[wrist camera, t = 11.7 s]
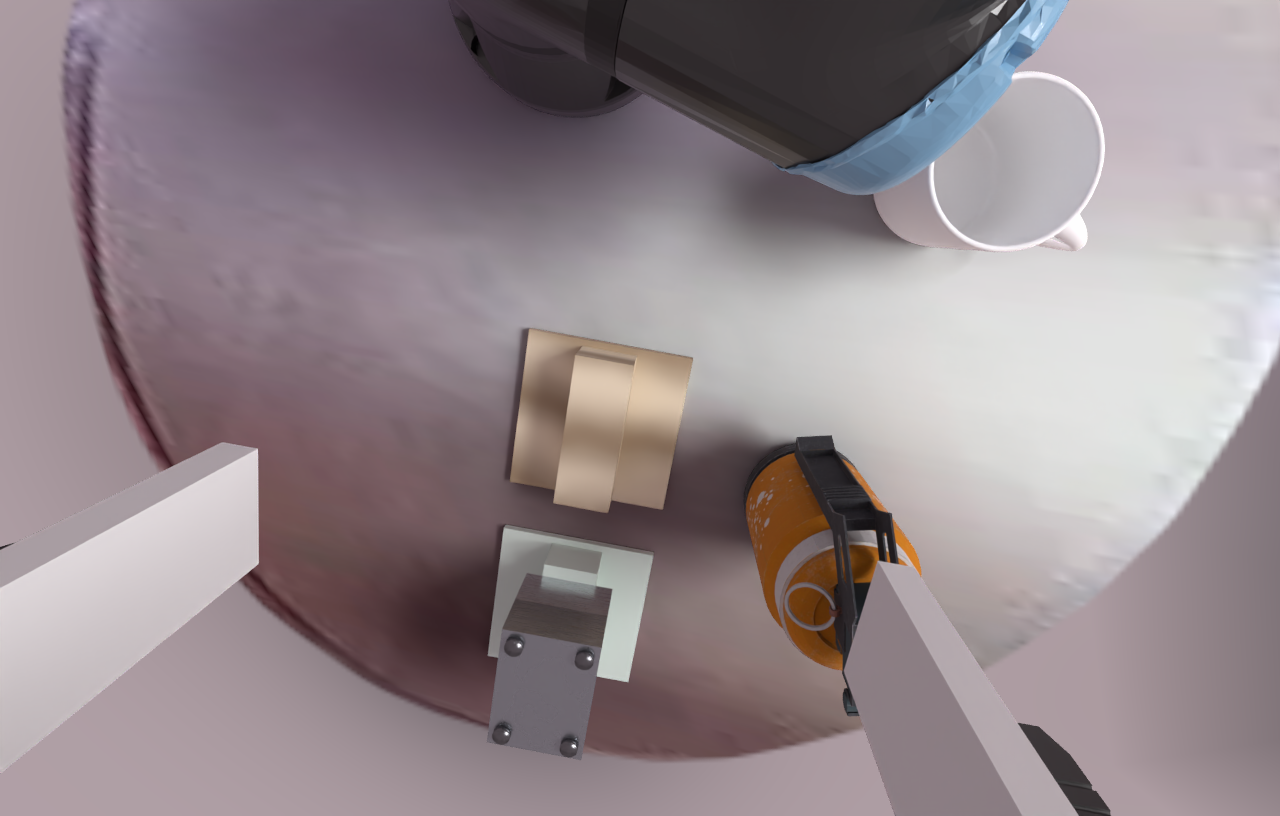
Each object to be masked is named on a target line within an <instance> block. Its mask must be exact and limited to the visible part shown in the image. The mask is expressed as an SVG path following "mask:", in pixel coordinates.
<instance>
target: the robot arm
mask: <svg viewBox="0 0 1280 816" xmlns="http://www.w3.org/2000/svg"><path fill="white" fill-rule="evenodd" d="M1068 1H1069V0H449V3H450V7H451V10H452V14H453V17H454V20H455V23H456V26H457V28H458V30H459V33H460V35H461V37H462V39H463V41H464V43H465V45H466V46H467V48H468V50H469V51H470V53H471V55H472V56H473V58H474V59H475V60H476V62H477V63H478V64H479V66H480V67H481V68H482V69H483V71H484V72H485V73H486V74H487V75H488V76H489V77H490V78H491V79H492V80H493V81H494V82H495V83H496V84H498V85H499V86H500V87H501V88H502V89H504V90H505V91H506V92H507V93H509V94H510V95H511V96H513V97H514V98H516V99H517V100H519V101H520V102H522V103H524V104H526V105H528V106H530V107H532V108H534V109H536V110H539V111H542V112H545V113H548V114H552V115H557V116H563V117H588V116H595V115H600V114H603V113H607V112H610V111H613V110H615V109H618V108H620V107H622V106H624V105H626V104H628V103H629V102H631V101H633V100H634V99H636V98H637V97H639V96H640V95H641V94H645V95H647V96H649V97H651V98H653V99H655V100H657V101H658V102H660V103H662V104H664V105H666V106H668V107H670V108H672V109H674V110H675V111H677V112H679V113H681V114H683V115H685V116H687V117H689V118H691V119H692V120H694V121H696V122H698V123H700V124H702V125H704V126H706V127H707V128H709V129H711V130H713V131H715V132H717V133H719V134H721V135H723V136H724V137H726V138H728V139H730V140H732V141H734V142H736V143H738V144H740V145H741V146H743V147H745V148H747V149H749V150H751V151H753V152H755V153H757V154H758V155H760V156H762V157H764V158H766V159H768V160H770V161H771V162H772V163H773V165H774V166H775V167H777V168H778V169H780V170H781V171H787V172H788V173H790V174H797V175H804V176H806V177H808V178H811V179H813V180H815V181H817V182H819V183H821V184H824V185H826V186H828V187H830V188H832V189H835V190H837V191H839V192H842V193H846V194H853V195H870V194H874V193H878V192H882V191H885V190H887V189H890V188H892V187H895V186H897V185H899V184H901V183H903V182H904V181H906V180H908V179H910V178H911V177H913V176H914V175H916V174H918V173H919V172H920V171H922V170H923V169H925V168H926V167H927V166H929V165H930V164H931V163H933V162H934V161H935V160H936V159H938V158H939V157H940V156H941V155H943V154H944V153H945V152H946V151H947V150H949V149H950V148H951V147H952V146H953V145H954V144H955V143H956V142H957V141H959V140H960V139H961V138H962V137H963V136H964V135H965V134H966V133H967V132H968V131H969V130H970V129H971V128H972V127H973V126H974V125H975V124H976V123H977V122H978V121H979V120H980V119H981V118H982V117H983V116H984V115H985V114H986V113H987V112H988V111H989V110H990V108H991V107H992V106H993V105H994V104H995V103H996V102H997V101H998V100H999V98H1000V97H1001V96H1002V95H1003V94H1004V93H1005V91H1006V90H1007V89H1008V87H1009V86H1010V85H1011V83H1012V75H1013V73H1014V71H1015V69H1016V68H1017V67H1018V66H1019V65H1020V64H1021V63H1022V62H1024V61H1025V60H1026V59H1027V58H1028V57H1030V56H1031V55H1032V54H1033V53H1035V52H1036V51H1037V50H1038V48H1039V47H1040V46H1041V44H1042V43H1043V41H1044V40H1045V38H1046V37H1047V35H1048V34H1049V32H1050V31H1051V29H1052V28H1053V27H1054V25H1055V24H1056V22H1057V21H1058V19H1059V17H1060V15H1061V14H1062V12H1063V10H1064V8H1065V7H1066V5H1067V3H1068ZM258 564H259V533H258V449H257V448H251V447H245V446H240V445H234V444H229V443H223V442H222V443H220V444H218V445H216V446H214V447H212V448H210V449H207V450H205V451H203V452H201V453H199V454H197V455H195V456H193V457H191V458H189V459H187V460H185V461H183V462H181V463H179V464H177V465H174V466H172V467H170V468H168V469H166V470H164V471H162V472H160V473H158V474H156V475H154V476H152V477H150V478H148V479H146V480H144V481H142V482H139V483H138V484H135V485H133V486H131V487H129V488H127V489H125V490H123V491H121V492H119V493H117V494H115V495H113V496H111V497H109V498H107V499H104V500H103V501H100V502H98V503H96V504H94V505H92V506H90V507H88V508H86V509H84V510H82V511H80V512H78V513H76V514H74V515H71V516H70V517H67V518H65V519H63V520H61V521H59V522H57V523H55V524H53V525H51V526H49V527H47V528H45V529H43V530H41V531H38V532H36V533H35V534H32V535H30V536H28V537H26V538H24V539H22V540H20V541H18V542H16V543H12V544H9V545H5V546H2V547H0V774H1V773H2V772H3V771H4V770H5V769H7V768H8V767H9V766H10V765H11V764H13V763H14V762H15V761H17V760H18V759H19V758H20V757H21V756H23V755H24V754H25V753H26V752H28V751H29V750H30V749H31V748H32V747H34V746H35V745H36V744H37V743H39V742H40V741H41V740H42V739H44V738H45V737H46V736H47V735H49V734H50V733H51V732H52V731H53V730H55V729H56V728H57V727H58V726H59V725H61V724H62V723H63V722H64V721H66V720H67V719H68V718H69V717H71V716H72V715H73V714H74V713H76V712H77V711H78V710H79V709H81V708H82V707H83V706H84V705H85V704H87V703H88V702H89V701H90V700H91V699H93V698H94V697H95V696H96V695H98V694H99V693H100V692H101V691H103V690H104V689H105V688H106V687H107V686H109V685H110V684H111V683H112V682H114V681H115V680H116V679H117V678H119V677H120V676H121V675H122V674H123V673H125V672H126V671H127V670H129V669H130V668H131V667H132V666H133V665H135V664H136V663H137V662H138V661H140V660H141V659H142V658H143V657H144V656H146V655H147V654H148V653H149V652H151V651H152V650H153V649H154V648H155V647H157V646H158V645H159V644H161V643H162V642H163V641H164V640H165V639H167V638H168V637H169V636H170V635H172V634H173V633H174V632H175V631H176V630H178V629H179V628H180V627H181V626H183V625H184V624H185V623H186V622H188V621H189V620H190V619H191V618H192V617H194V616H195V615H196V614H197V613H199V612H200V611H201V610H202V609H204V608H205V607H206V606H207V605H209V604H210V603H211V602H212V601H213V600H215V599H216V598H217V597H218V596H220V595H221V594H222V593H223V592H225V591H226V590H227V589H228V588H229V587H231V586H232V585H233V584H234V583H236V582H237V581H238V580H239V579H241V578H242V577H243V576H244V575H245V574H247V573H248V572H249V571H250V570H252V569H253V568H254V567H255V566H257V565H258ZM844 673H845V676H846V679H847V682H848V684H849V687H850V690H851V693H852V696H853V699H854V701H855V704H856V707H857V710H858V713H859V715H860V718H861V721H862V724H863V727H864V730H865V732H866V735H867V738H868V741H869V743H870V746H871V749H872V752H873V755H874V758H875V760H876V764H877V766H878V769H879V772H880V775H881V778H882V780H883V783H884V786H885V789H886V792H887V795H888V797H889V800H890V803H891V806H892V809H893V811H894V814H895V816H1111V815H1110V809H1109V808H1108V807H1107V805H1106V804H1105V803H1104V801H1103V800H1102V798H1101V797H1100V796H1099V794H1098V793H1097V792H1096V791H1093V790H1092V787H1091V786H1092V785H1091V783H1090V782H1089V780H1088V779H1087V778H1086V776H1085V775H1084V774H1083V772H1082V771H1081V769H1080V768H1079V767H1078V765H1077V764H1076V762H1075V761H1074V760H1073V758H1072V757H1071V755H1070V754H1069V753H1067V752H1066V751H1065V750H1064V749H1063V748H1062V747H1061V746H1060V745H1059V744H1057V743H1056V742H1055V741H1054V740H1053V739H1052V738H1051V737H1050V736H1048V735H1047V734H1046V733H1045V732H1044V731H1043V730H1042V729H1041V728H1040V727H1038V726H1032V725H1026V724H1021V723H1017V722H1016V720H1015V719H1014V717H1013V716H1012V714H1011V713H1010V711H1009V710H1008V708H1007V706H1006V705H1005V703H1004V702H1003V701H1002V699H1001V697H1000V696H999V695H998V693H997V691H996V690H995V688H994V687H993V685H992V684H991V682H990V681H989V679H988V678H987V676H986V675H985V673H984V672H983V670H982V669H981V667H980V666H979V664H978V663H977V661H976V660H975V658H974V657H973V655H972V654H971V652H970V651H969V649H968V648H967V646H966V645H965V643H964V641H963V640H962V638H961V637H960V635H959V634H958V632H957V631H956V629H955V628H954V626H953V625H952V623H951V622H950V620H949V619H948V617H947V616H946V614H945V613H944V611H943V610H942V608H941V607H940V605H939V604H938V602H937V601H936V599H935V598H934V596H933V595H932V593H931V592H930V590H929V589H928V587H927V586H926V584H925V583H924V581H923V580H922V578H921V576H920V575H919V573H918V572H917V570H916V569H915V567H910V566H905V565H899V564H893V563H888V562H882V561H877V564H876V568H875V571H874V574H873V577H872V581H871V584H870V587H869V590H868V594H867V597H866V600H865V603H864V607H863V610H862V613H861V616H860V620H859V623H858V626H857V629H856V633H855V636H854V639H853V642H852V646H851V649H850V652H849V655H848V659H847V662H846V665H845V668H844Z"/></svg>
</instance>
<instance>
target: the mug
mask: <svg viewBox="0 0 1280 816" xmlns="http://www.w3.org/2000/svg"><path fill="white" fill-rule="evenodd" d="M1104 149H1105V146H1104V134H1103V129H1102V125H1101V122H1100V119H1099V116H1098V114H1097V112H1096V110H1095V108H1094V106H1093V105H1092V103H1091V102H1090V101H1089V99H1088V98H1087V97H1086V95H1085V94H1083V93H1082V92H1081V91H1080V90H1079V89H1078V88H1077V87H1076V86H1074V85H1073V84H1071V83H1070V82H1068V81H1066V80H1064V79H1062V78H1060V77H1058V76H1055V75H1051V74H1048V73H1042V72H1036V71H1023V72H1016V73H1013V75H1012V83H1011V85H1010V86H1009V87H1008V89H1007V90H1006V91H1005V93H1004V94H1003V95H1002V96H1001V97H1000V98H999V100H998V101H997V102H996V103H995V104H994V105H993V106H992V107H991V108H990V110H989V111H988V112H987V113H986V114H985V115H984V116H983V117H982V118H981V119H980V120H979V121H978V122H977V123H976V124H975V125H974V126H973V127H972V128H971V129H970V130H969V131H968V132H967V133H966V134H965V135H964V136H963V137H962V138H961V139H960V140H959V141H957V142H956V143H955V144H954V145H953V146H952V147H951V148H950V149H949V150H947V151H946V152H945V153H944V154H943V155H941V156H940V157H939V158H938V159H936V160H935V161H934V162H933V163H931V164H930V165H929V166H927V167H926V168H925V169H923V170H922V171H920V172H919V173H918V174H916V175H914V176H913V177H911V178H910V179H908V180H906V181H904V182H903V183H901V184H899V185H897V186H895V187H892V188H890V189H887V190H885V191H882V192H878V193H874V194H873V195H874V201H875V204H876V208H877V210H878V212H879V215H880V216H881V218H882V220H883V221H884V223H885V224H886V225H887V226H888V227H889V228H890V229H891V230H892V231H893V232H894V233H895V234H896V235H898V236H899V237H901V238H903V239H904V240H907V241H909V242H911V243H914V244H918V245H921V246H928V247H937V248H951V249H964V250H977V251H990V252H1011V251H1019V250H1023V249H1027V248H1030V247H1033V246H1041V247H1046V248H1052V249H1058V250H1065V251H1077V250H1079V249H1081V248H1083V247H1084V245H1085V244H1086V241H1087V230H1086V226H1085V224H1084V222H1083V220H1082V218H1081V216H1080V212H1081V211H1082V210H1083V208H1084V207H1085V206H1086V204H1087V203H1088V201H1089V199H1090V198H1091V196H1092V194H1093V192H1094V190H1095V188H1096V186H1097V184H1098V181H1099V178H1100V175H1101V172H1102V166H1103V161H1104ZM1053 236H1054V237H1056V238H1058V239H1059V240H1061V241H1062V242H1064V243H1062V242H1058V241H1056V240H1053V239H1051V238H1052V237H1053Z"/></svg>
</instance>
